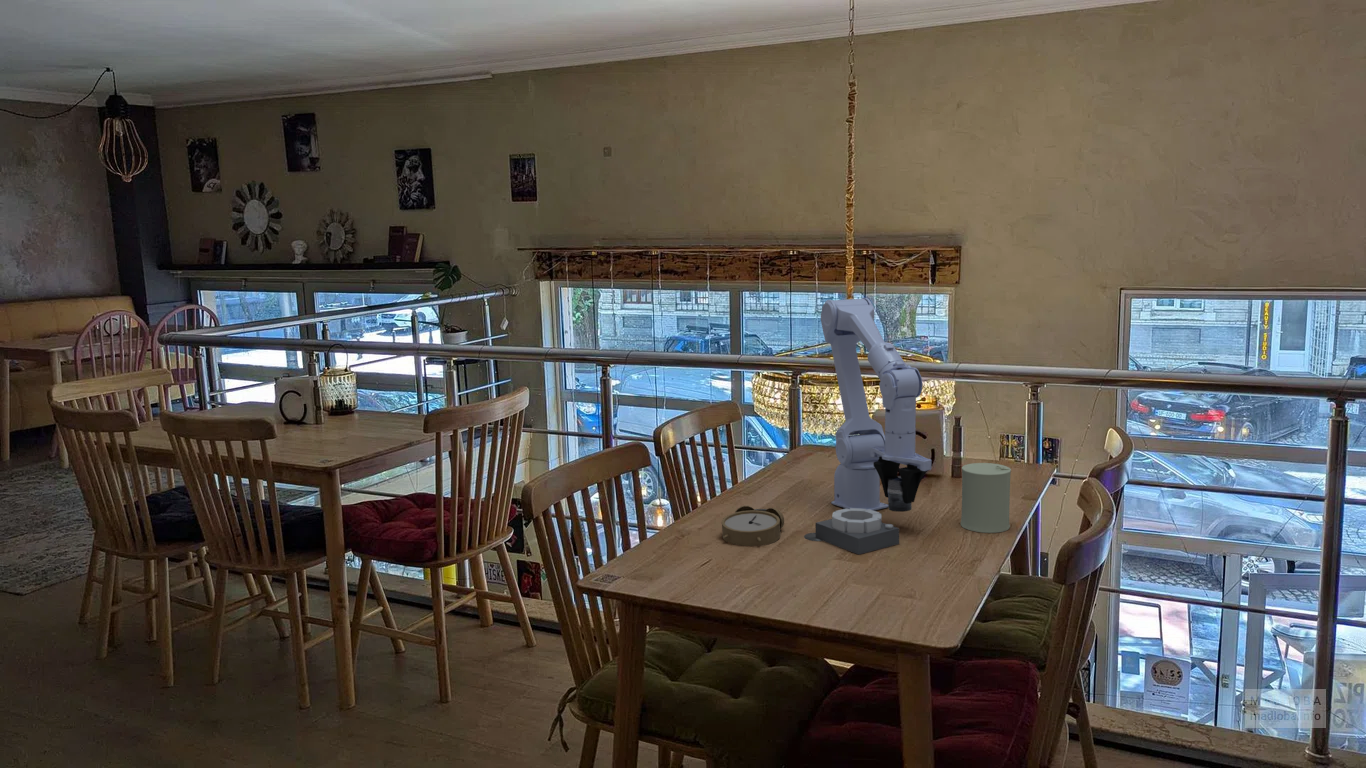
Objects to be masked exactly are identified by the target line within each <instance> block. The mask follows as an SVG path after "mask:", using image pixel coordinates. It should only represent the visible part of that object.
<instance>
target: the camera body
mask: <svg viewBox="0 0 1366 768" xmlns="http://www.w3.org/2000/svg"><path fill="white" fill-rule="evenodd" d="M831 515H832V516H831V518H830V519H826V520H822V521H817V522H815V533H816V538H817V539H820V540H823V541H822V542H825V543H828V544H830V545H832V546H835V547H837V548H840V549H843V550H845V551H848V552H850V553H851V552H852V553H854V554H856V555H864V554H866V553H871V552H874V551H878V550H883V549H884V548H885V549H886V548H889V547H893V546H896V545H899V544H900V528H899V527H896V526H894V524H891V523H884V522H882V521H883V520H882V515H883V514H882V513H881V512H879V511H877V510H874V511H873V510H870V509H868V510H866V509H861V508H850V509H847V508H843V509H838V510H835V511H833V512H832V514H831Z"/></svg>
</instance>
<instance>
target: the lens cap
mask: <svg viewBox="0 0 1366 768" xmlns="http://www.w3.org/2000/svg"><path fill="white" fill-rule="evenodd" d="M803 538H804V539H806V540H807V541H812V542H824V541H823V540H820V539H817V538H816V532H808V533H805V534H804V535H803Z"/></svg>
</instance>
